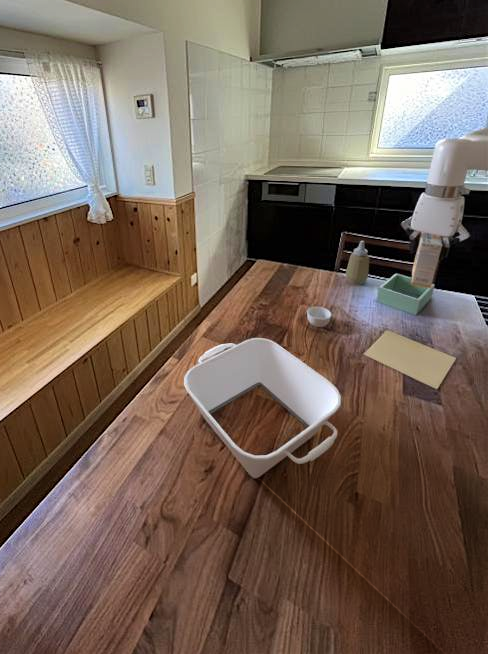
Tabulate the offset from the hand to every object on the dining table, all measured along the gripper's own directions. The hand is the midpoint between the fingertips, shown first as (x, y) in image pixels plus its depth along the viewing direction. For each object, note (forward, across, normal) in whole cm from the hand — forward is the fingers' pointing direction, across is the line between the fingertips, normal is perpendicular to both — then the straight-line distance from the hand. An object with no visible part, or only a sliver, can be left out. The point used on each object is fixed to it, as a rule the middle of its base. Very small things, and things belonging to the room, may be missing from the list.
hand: (426, 254), depth 92 cm
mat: (+28, -4, +10) cm, 30 cm away
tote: (+28, +8, -20) cm, 35 cm away
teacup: (+28, +22, +14) cm, 38 cm away
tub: (+28, +10, +58) cm, 65 cm away
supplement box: (+8, 0, 0) cm, 8 cm away
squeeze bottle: (+28, +26, -21) cm, 44 cm away
